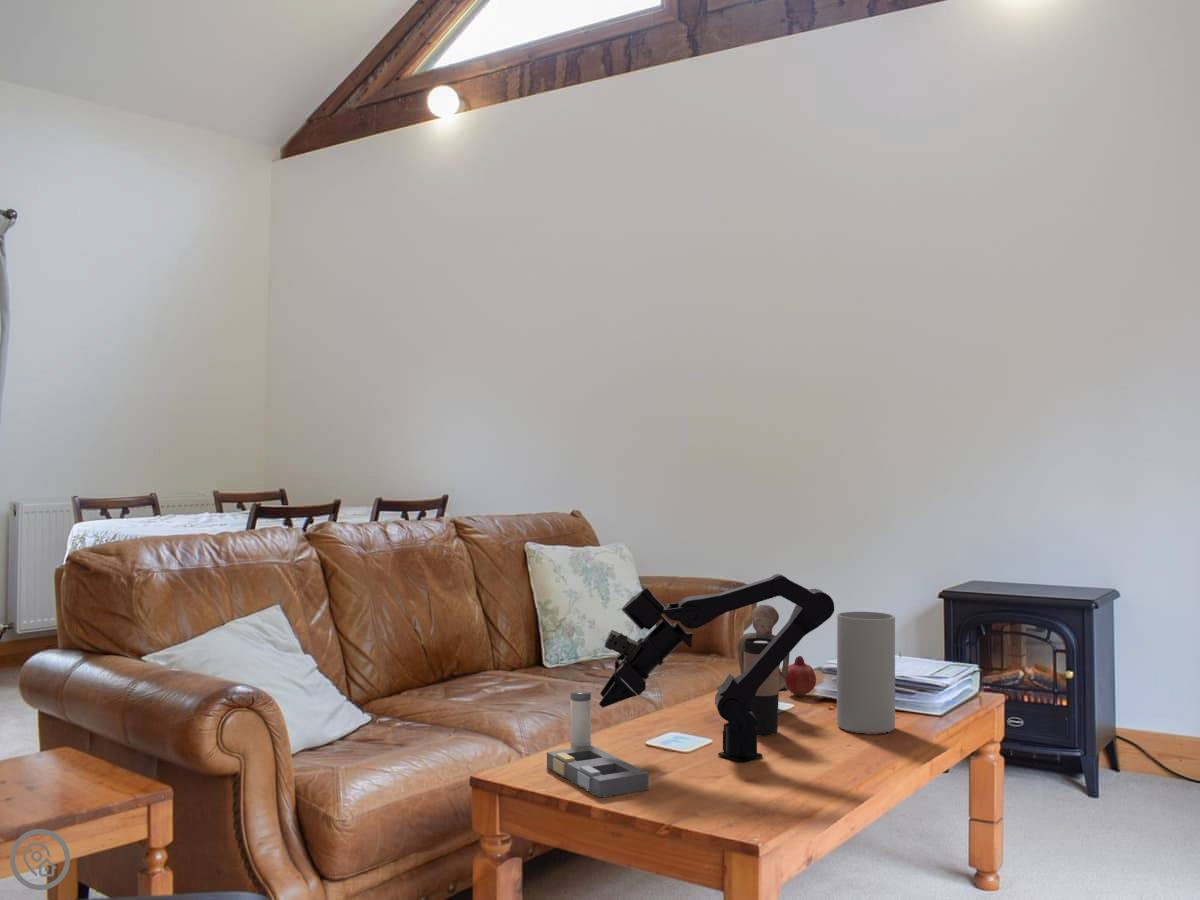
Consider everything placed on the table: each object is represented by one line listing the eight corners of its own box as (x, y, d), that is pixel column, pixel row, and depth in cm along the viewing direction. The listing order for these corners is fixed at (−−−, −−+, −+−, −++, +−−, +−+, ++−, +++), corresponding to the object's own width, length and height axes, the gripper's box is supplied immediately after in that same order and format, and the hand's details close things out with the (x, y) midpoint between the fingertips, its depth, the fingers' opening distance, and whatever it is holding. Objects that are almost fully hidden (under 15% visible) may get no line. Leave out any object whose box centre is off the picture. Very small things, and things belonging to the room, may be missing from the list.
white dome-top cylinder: (595, 755, 214) (595, 693, 214) (578, 759, 212) (578, 696, 212) (582, 751, 217) (582, 689, 217) (566, 754, 215) (566, 692, 215)
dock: (648, 789, 192) (648, 770, 192) (597, 798, 187) (597, 778, 187) (592, 761, 210) (592, 743, 210) (545, 768, 205) (545, 749, 205)
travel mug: (739, 734, 232) (739, 641, 232) (748, 726, 239) (748, 636, 239) (774, 737, 229) (774, 644, 229) (782, 729, 236) (782, 638, 236)
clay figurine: (730, 711, 253) (730, 605, 253) (743, 702, 262) (743, 600, 262) (784, 717, 247) (784, 609, 248) (795, 708, 256) (795, 603, 257)
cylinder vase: (874, 719, 245) (874, 610, 246) (906, 732, 234) (906, 618, 234) (826, 723, 241) (826, 612, 242) (856, 737, 230) (856, 620, 230)
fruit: (819, 699, 266) (819, 659, 267) (786, 699, 266) (786, 659, 266) (812, 692, 275) (812, 653, 275) (780, 692, 274) (780, 653, 274)
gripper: (628, 610, 224) (575, 662, 224) (629, 624, 205) (570, 681, 205) (665, 649, 224) (612, 701, 224) (669, 666, 205) (611, 722, 205)
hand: (601, 700), depth 214 cm, fingers open, 9 cm apart
